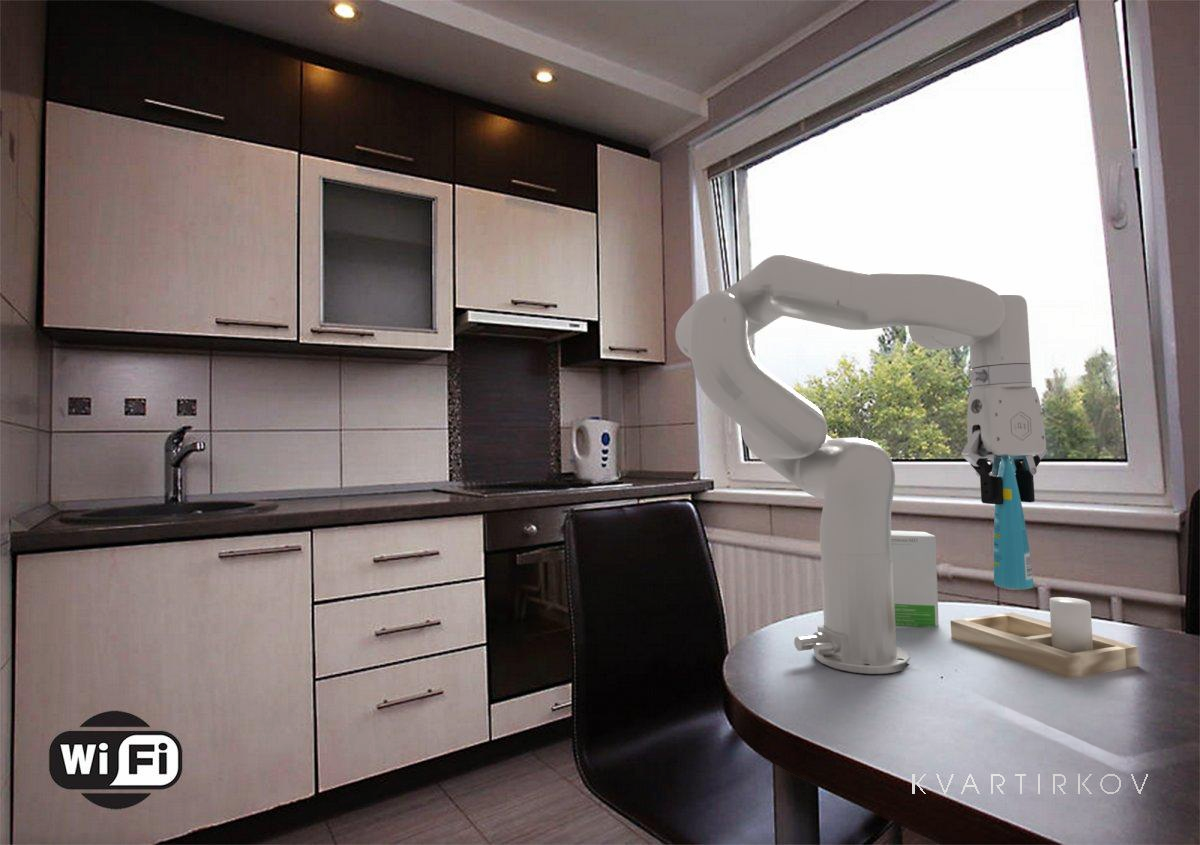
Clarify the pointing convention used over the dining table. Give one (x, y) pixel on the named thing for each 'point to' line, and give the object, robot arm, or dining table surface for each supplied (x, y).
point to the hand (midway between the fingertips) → (1007, 501)
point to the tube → (1011, 536)
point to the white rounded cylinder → (1071, 624)
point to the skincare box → (914, 579)
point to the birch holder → (1042, 645)
